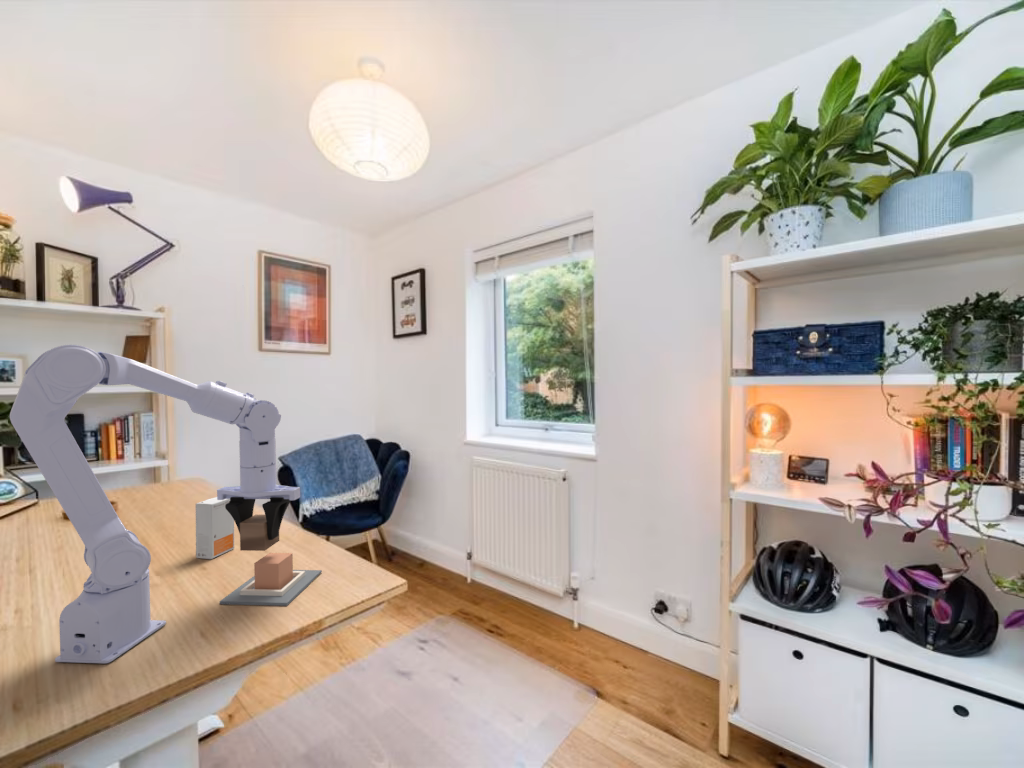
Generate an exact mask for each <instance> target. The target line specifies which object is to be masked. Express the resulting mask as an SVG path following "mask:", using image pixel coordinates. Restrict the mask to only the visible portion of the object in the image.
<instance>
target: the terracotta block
mask: <svg viewBox="0 0 1024 768" xmlns="http://www.w3.org/2000/svg"><path fill="white" fill-rule="evenodd" d="M293 559H294V558H293V552H269V553H267V554H266V555H264V556H263V557H261V558H260V559H258V560H257V561H255V562H254V564H253V565H254V566H253V568H254V569H253V571H254V572H253V573H254V576H255V589H269V590H281V589H282V588H283V587H284V586H285V585H287V584H288V583H289V582H290V581H291V580H292V579H293V570H294V565H293V564H294V563H293V561H294V560H293Z"/></svg>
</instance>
